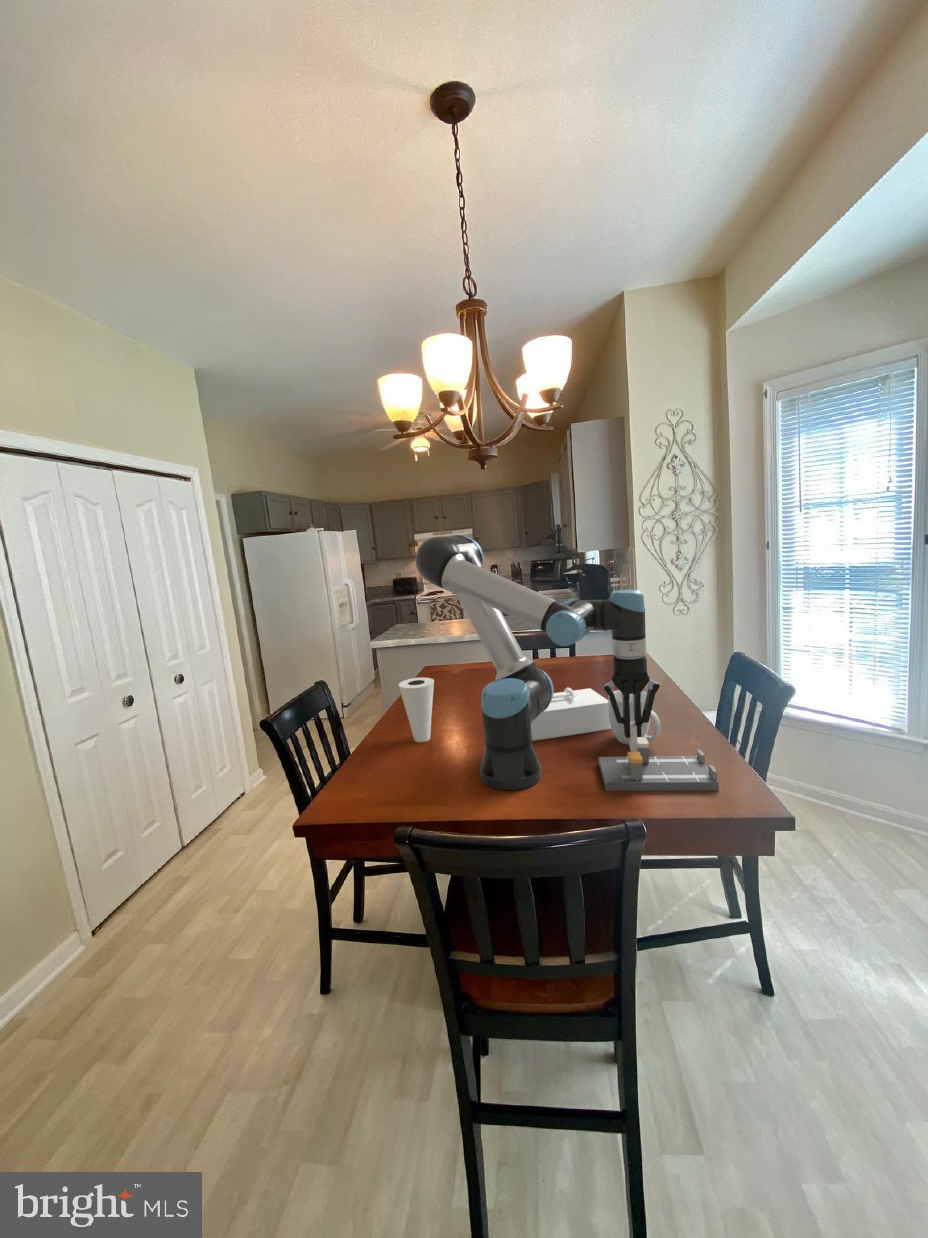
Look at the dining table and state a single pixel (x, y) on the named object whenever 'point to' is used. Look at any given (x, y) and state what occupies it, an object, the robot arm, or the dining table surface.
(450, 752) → the dining table surface
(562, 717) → the tissue box
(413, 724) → the white paper towel roll
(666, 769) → the console
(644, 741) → the fader cream
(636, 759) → the fader orange
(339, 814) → the dining table surface
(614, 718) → the mug
